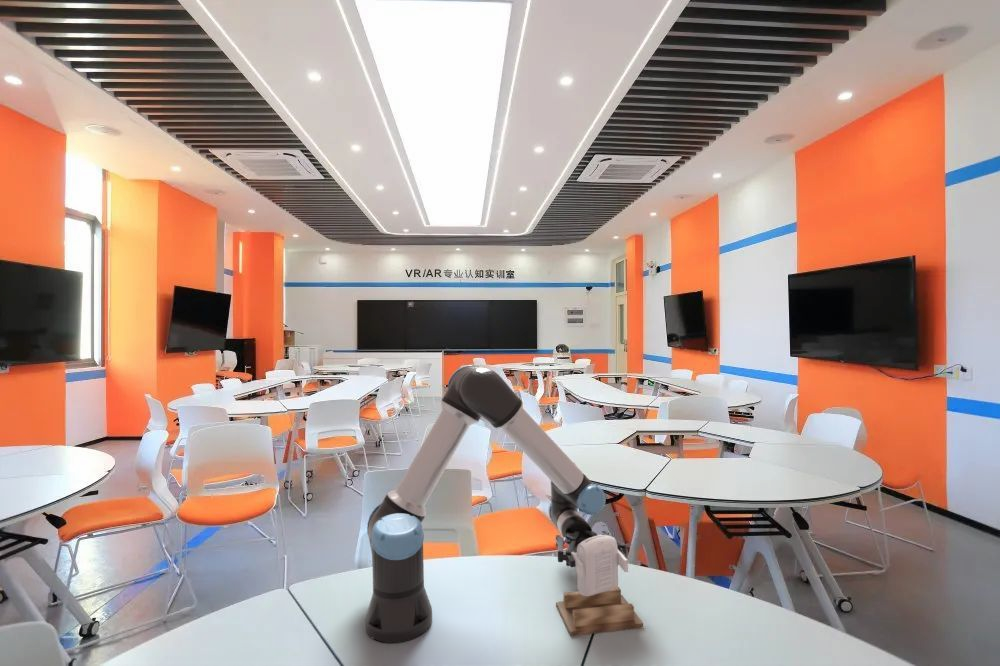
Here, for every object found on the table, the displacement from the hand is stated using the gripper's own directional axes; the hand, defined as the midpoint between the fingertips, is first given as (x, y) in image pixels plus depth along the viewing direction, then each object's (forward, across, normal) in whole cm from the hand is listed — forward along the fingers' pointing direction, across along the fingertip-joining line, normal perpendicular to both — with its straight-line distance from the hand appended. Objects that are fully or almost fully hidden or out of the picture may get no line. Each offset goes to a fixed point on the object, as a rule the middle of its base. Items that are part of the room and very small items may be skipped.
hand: (604, 568), depth 110 cm
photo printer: (-4, 0, -7) cm, 8 cm away
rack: (-4, 0, -13) cm, 14 cm away
